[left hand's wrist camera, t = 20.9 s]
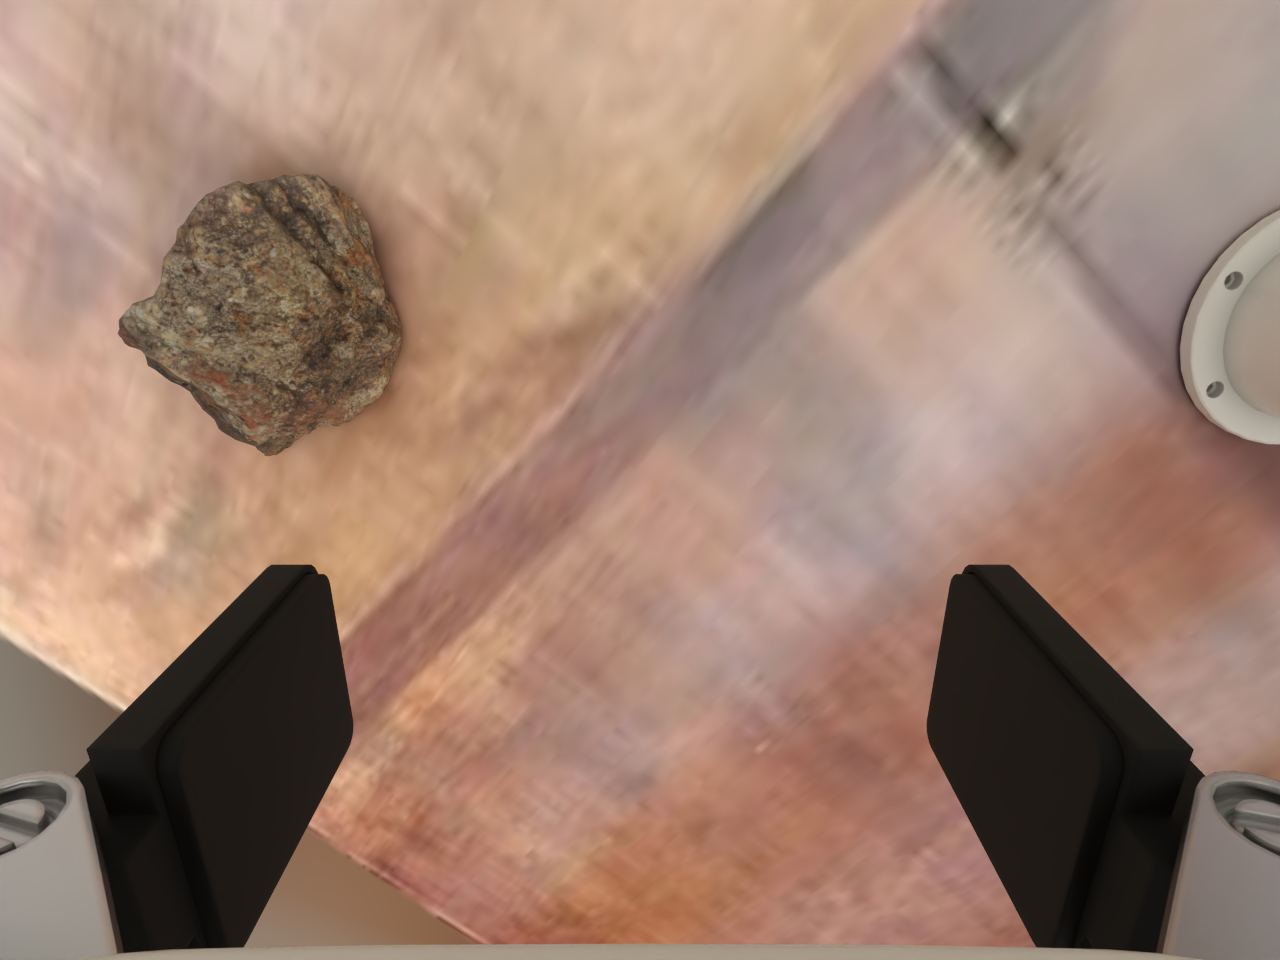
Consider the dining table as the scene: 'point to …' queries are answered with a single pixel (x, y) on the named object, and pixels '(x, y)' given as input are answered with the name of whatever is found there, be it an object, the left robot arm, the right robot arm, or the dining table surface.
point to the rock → (271, 311)
